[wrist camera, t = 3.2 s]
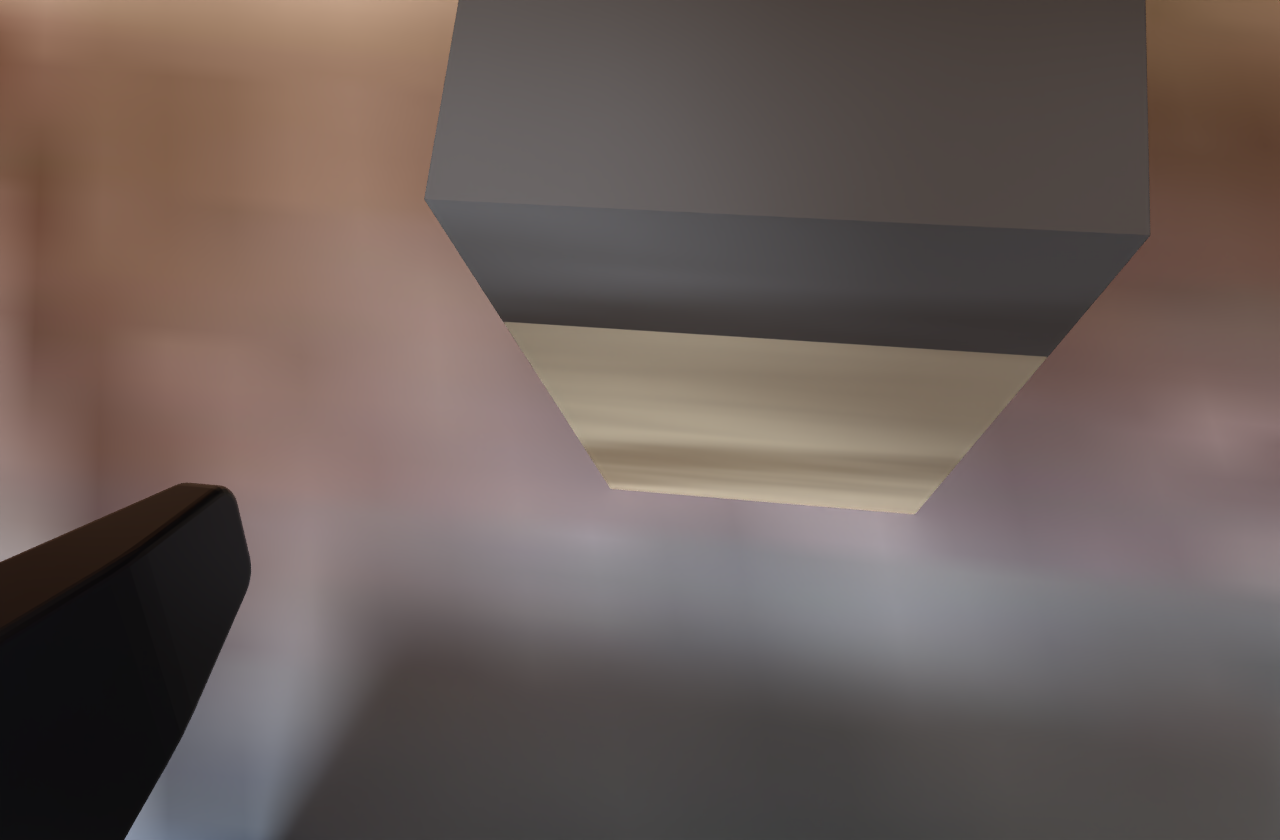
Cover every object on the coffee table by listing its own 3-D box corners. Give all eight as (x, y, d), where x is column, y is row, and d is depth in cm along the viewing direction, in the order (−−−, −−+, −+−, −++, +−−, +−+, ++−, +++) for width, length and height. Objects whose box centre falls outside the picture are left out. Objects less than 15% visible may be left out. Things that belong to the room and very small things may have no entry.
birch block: (914, 514, 20) (1149, 235, 8) (610, 488, 21) (424, 199, 9) (926, 232, 22) (1139, -349, 10) (641, 217, 23) (517, -338, 11)
